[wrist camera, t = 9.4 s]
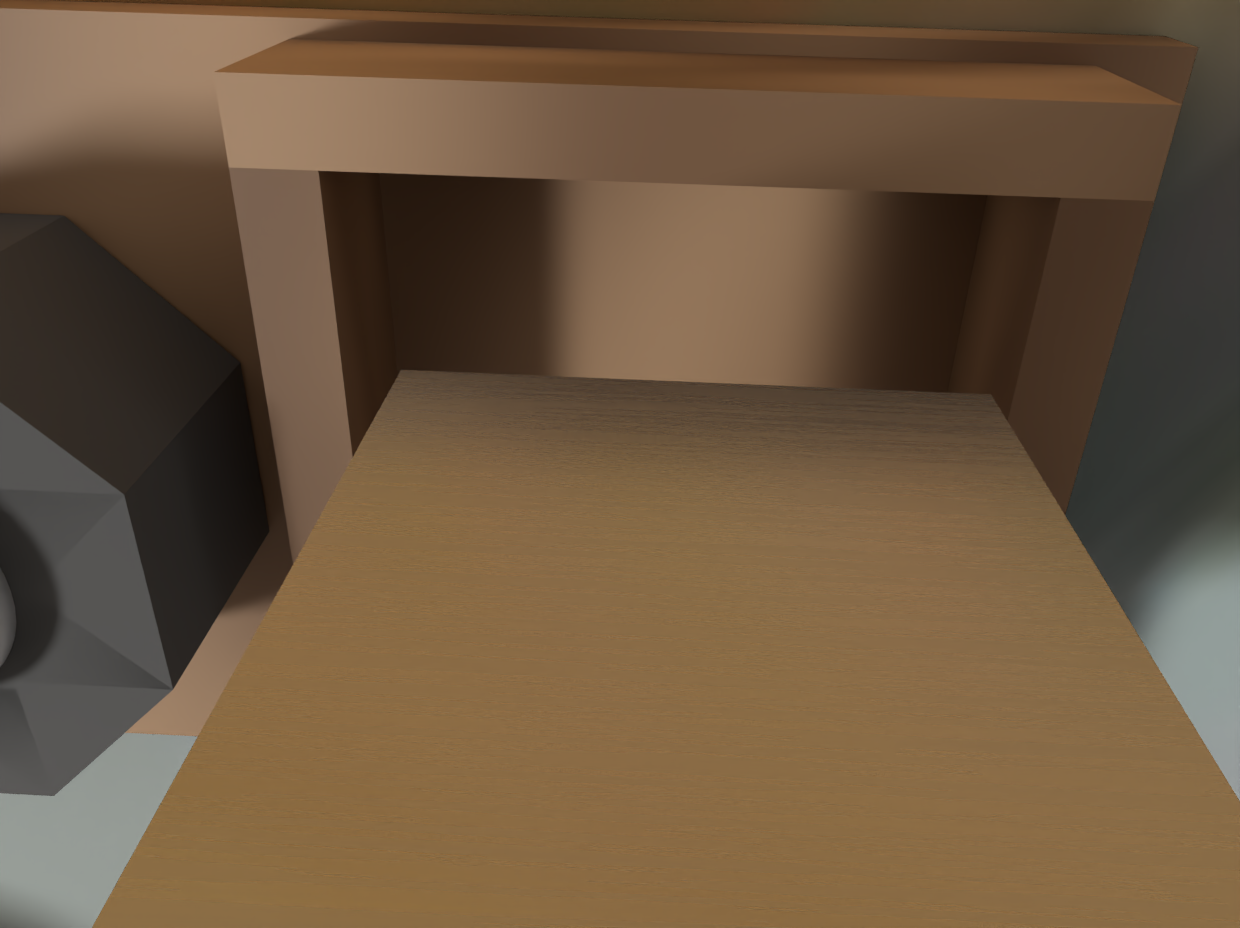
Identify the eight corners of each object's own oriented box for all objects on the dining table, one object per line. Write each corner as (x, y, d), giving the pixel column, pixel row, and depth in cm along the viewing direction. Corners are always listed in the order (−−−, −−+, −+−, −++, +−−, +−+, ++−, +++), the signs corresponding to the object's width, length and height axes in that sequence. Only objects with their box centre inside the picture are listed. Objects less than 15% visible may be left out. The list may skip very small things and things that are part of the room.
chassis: (1164, 36, 11) (1356, 99, 8) (976, 736, 16) (1049, 941, 13) (-323, -12, 11) (-690, 30, 8) (-49, 685, 16) (-215, 872, 13)
